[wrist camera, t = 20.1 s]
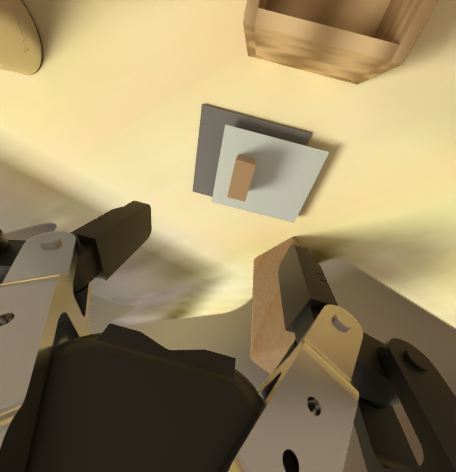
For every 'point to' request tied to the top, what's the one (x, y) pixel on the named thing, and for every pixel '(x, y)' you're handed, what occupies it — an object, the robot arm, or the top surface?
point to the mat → (213, 136)
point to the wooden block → (269, 310)
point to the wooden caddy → (335, 34)
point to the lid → (265, 173)
